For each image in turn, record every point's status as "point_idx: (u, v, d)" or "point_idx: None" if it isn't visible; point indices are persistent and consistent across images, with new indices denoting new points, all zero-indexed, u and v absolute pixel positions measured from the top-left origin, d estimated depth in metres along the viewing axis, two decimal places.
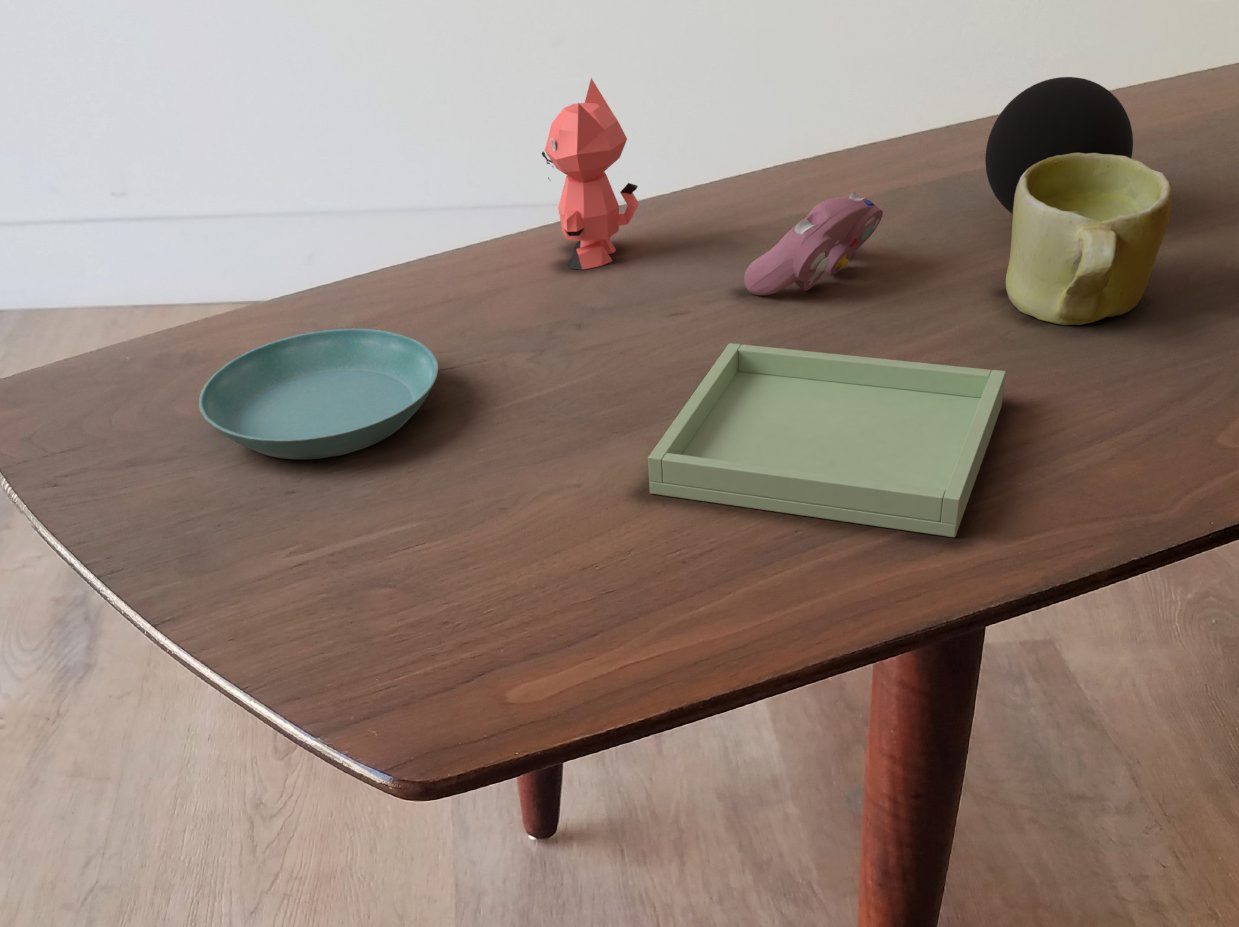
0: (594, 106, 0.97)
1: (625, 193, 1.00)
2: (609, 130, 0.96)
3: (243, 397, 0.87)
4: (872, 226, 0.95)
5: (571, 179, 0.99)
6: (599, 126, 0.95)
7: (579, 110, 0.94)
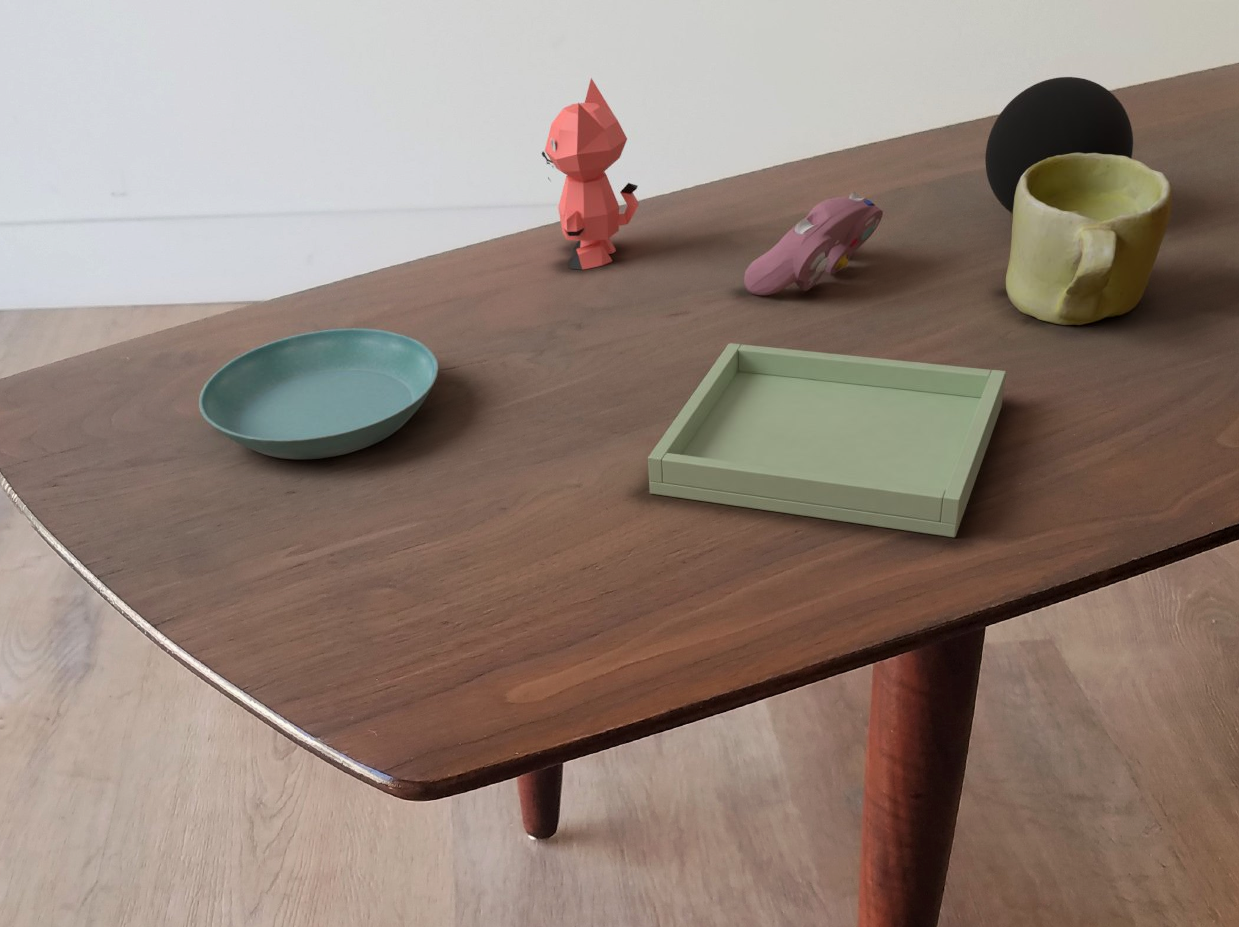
0: (594, 106, 0.97)
1: (625, 193, 1.00)
2: (609, 130, 0.96)
3: (243, 397, 0.87)
4: (872, 226, 0.95)
5: (571, 179, 0.99)
6: (599, 126, 0.95)
7: (579, 110, 0.94)
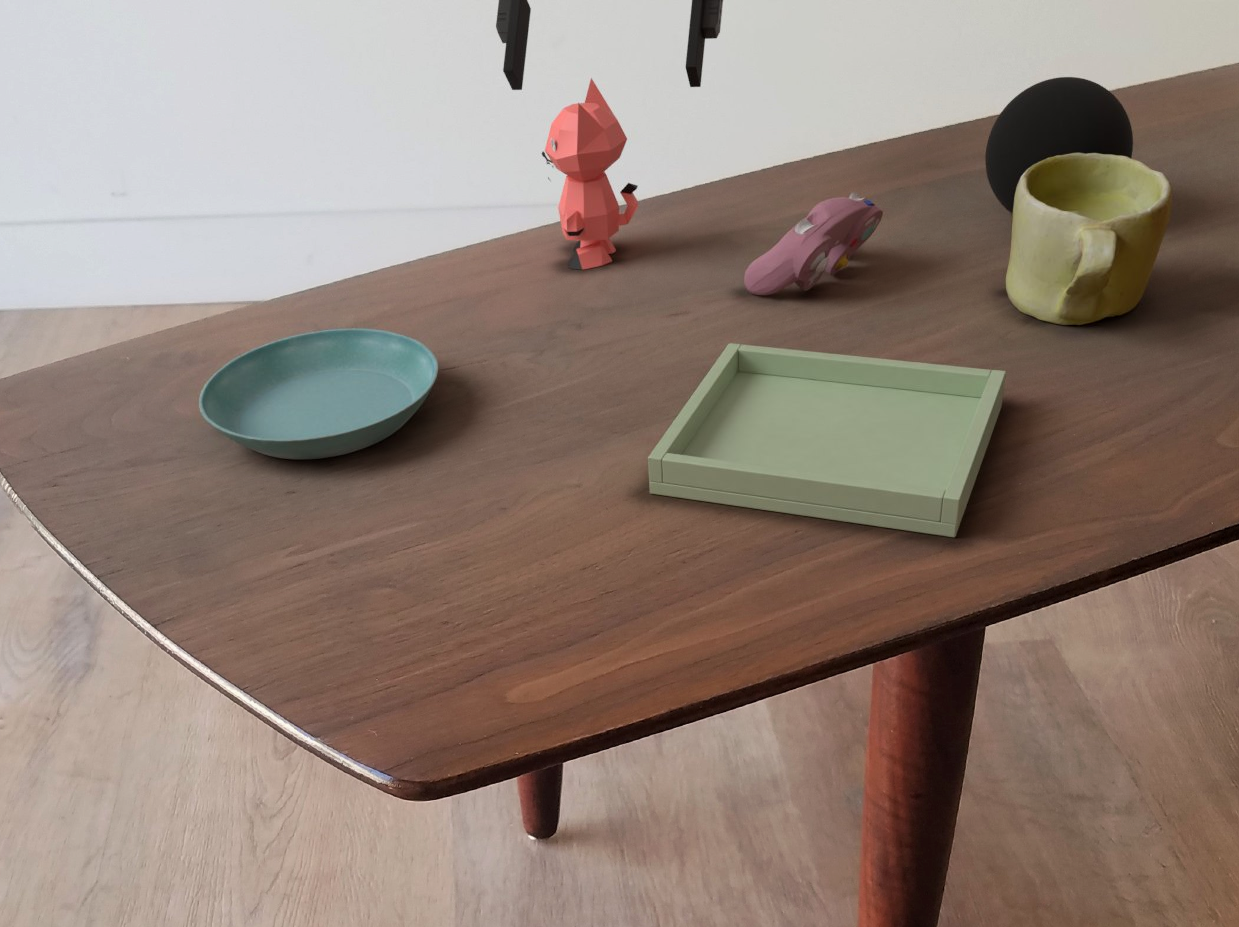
0: (594, 106, 0.97)
1: (625, 193, 1.00)
2: (609, 130, 0.96)
3: (243, 397, 0.87)
4: (872, 226, 0.95)
5: (571, 179, 0.99)
6: (599, 126, 0.95)
7: (579, 110, 0.94)
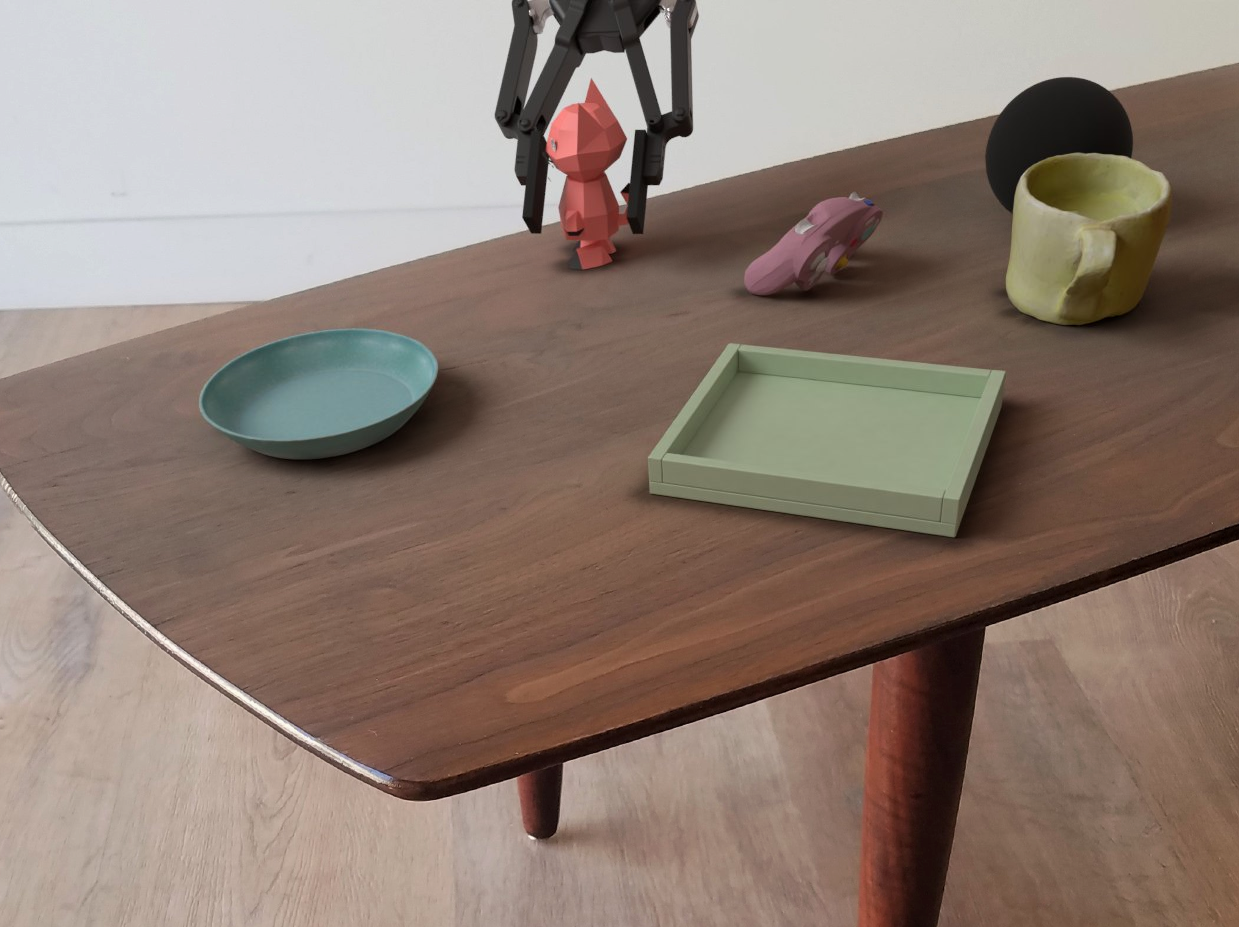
0: (594, 106, 0.97)
1: (625, 193, 1.00)
2: (609, 130, 0.96)
3: (243, 397, 0.87)
4: (872, 226, 0.95)
5: (571, 179, 0.99)
6: (599, 126, 0.95)
7: (579, 110, 0.94)
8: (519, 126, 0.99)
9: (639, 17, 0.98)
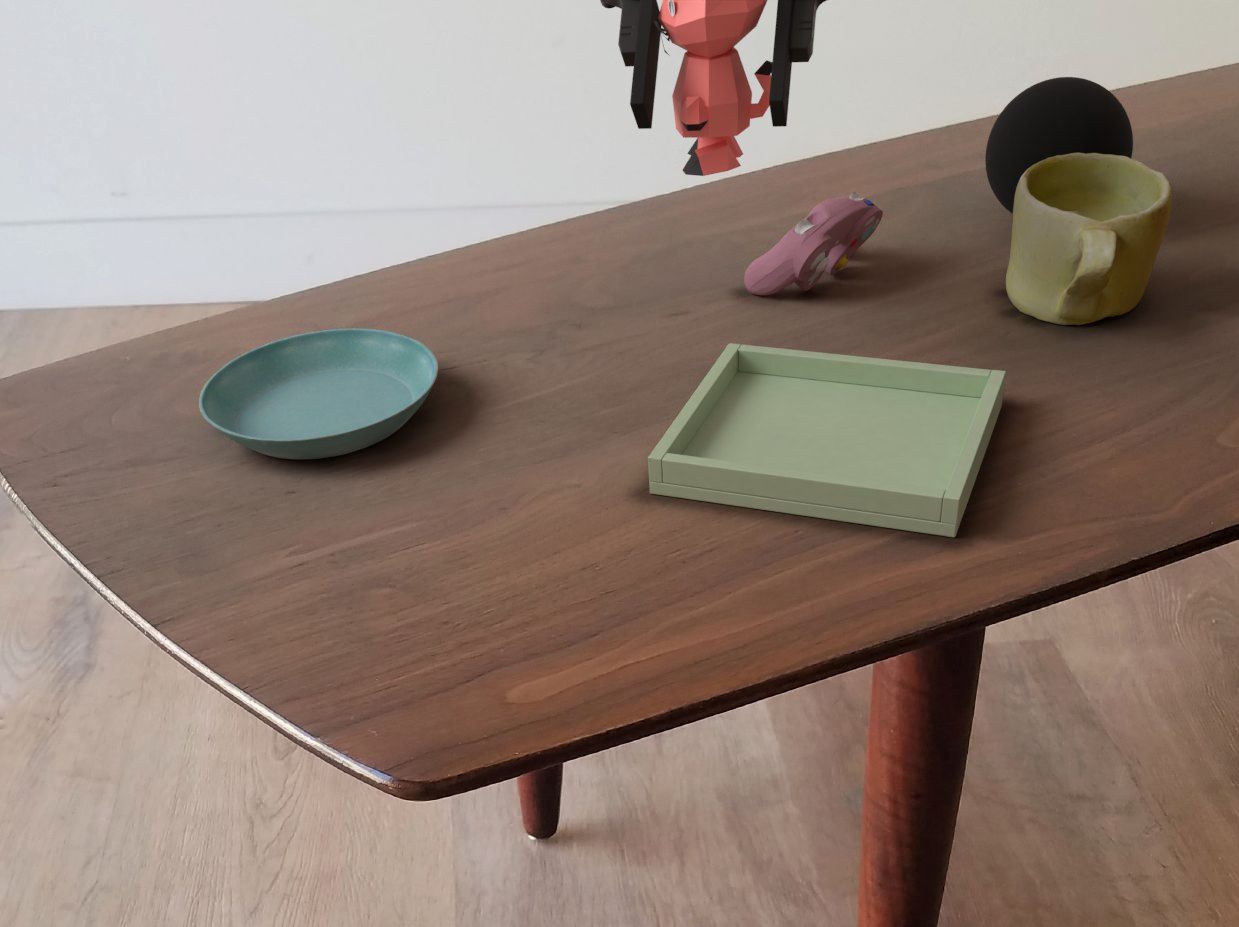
0: None
1: (761, 74, 0.77)
2: None
3: (243, 397, 0.87)
4: (872, 226, 0.95)
5: (692, 56, 0.77)
6: None
7: None
8: None
9: None
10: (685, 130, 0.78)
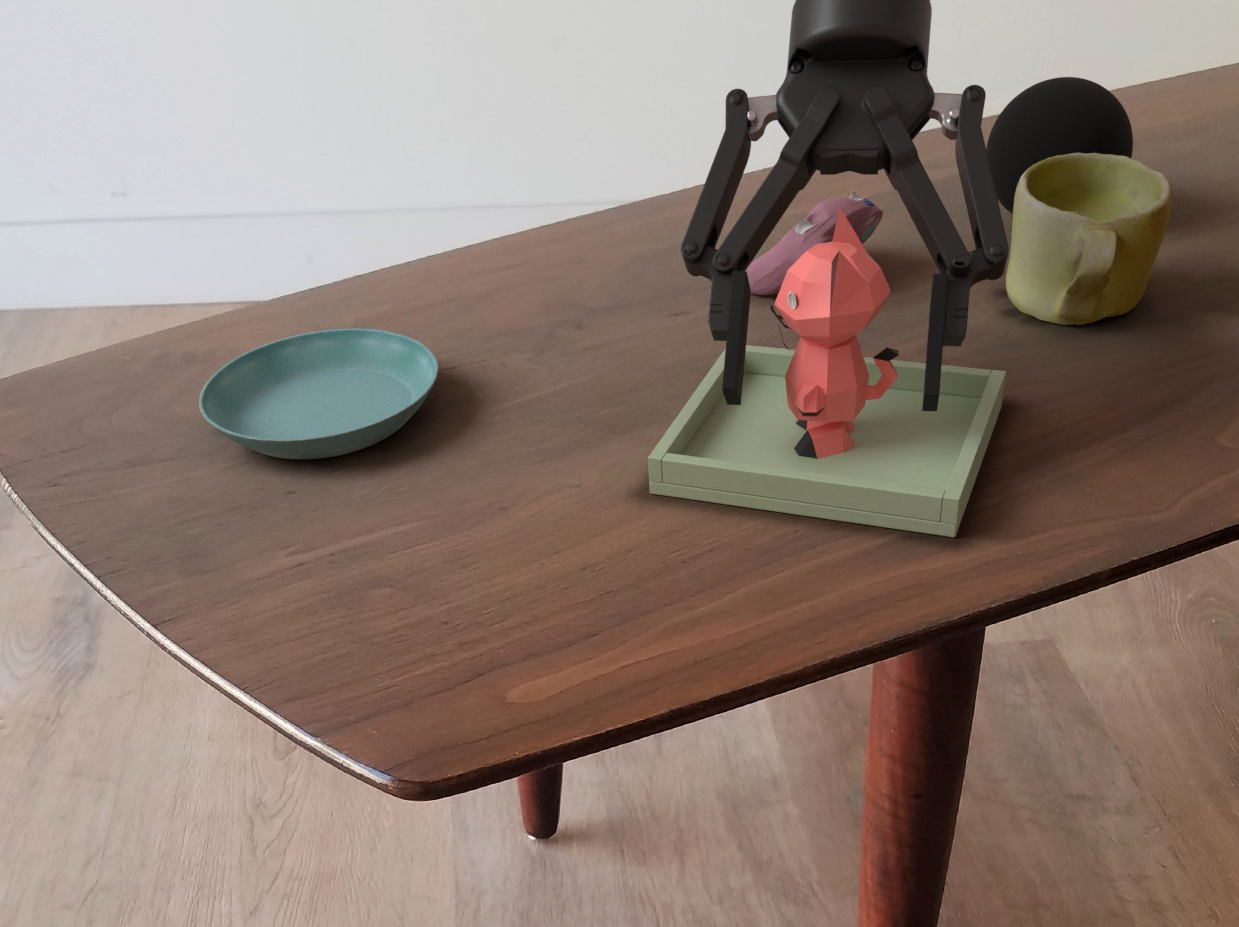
0: (850, 249, 0.71)
1: (880, 360, 0.74)
2: (872, 283, 0.70)
3: (243, 397, 0.87)
4: (872, 226, 0.95)
5: (809, 342, 0.74)
6: (862, 279, 0.69)
7: (839, 260, 0.68)
8: (714, 263, 0.74)
9: None
10: (799, 413, 0.75)
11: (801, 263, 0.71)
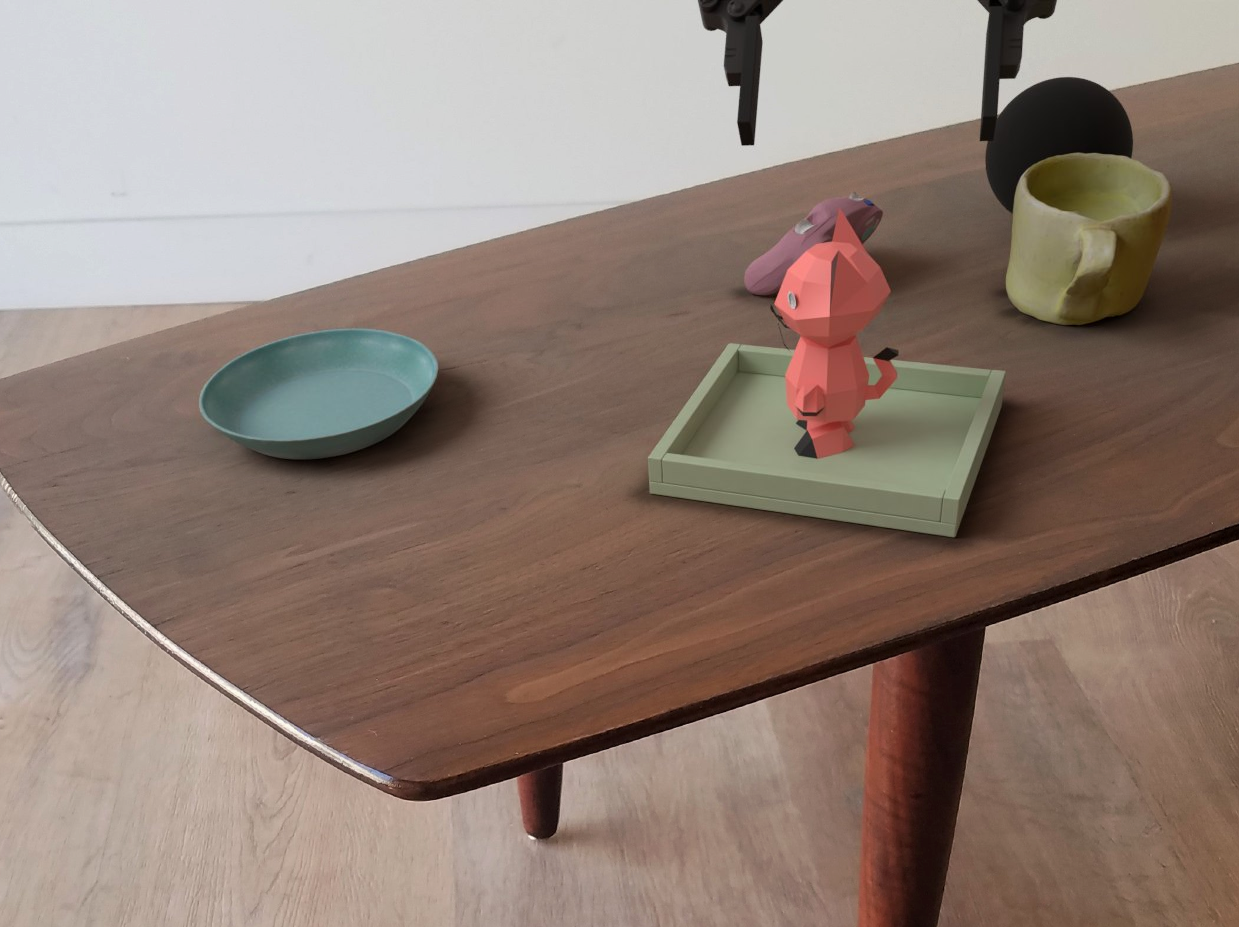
0: (849, 249, 0.71)
1: (880, 360, 0.74)
2: (872, 283, 0.70)
3: (243, 397, 0.87)
4: (872, 226, 0.95)
5: (809, 342, 0.74)
6: (861, 279, 0.69)
7: (838, 260, 0.68)
8: (729, 8, 0.80)
9: None
10: (799, 413, 0.75)
11: (801, 263, 0.71)
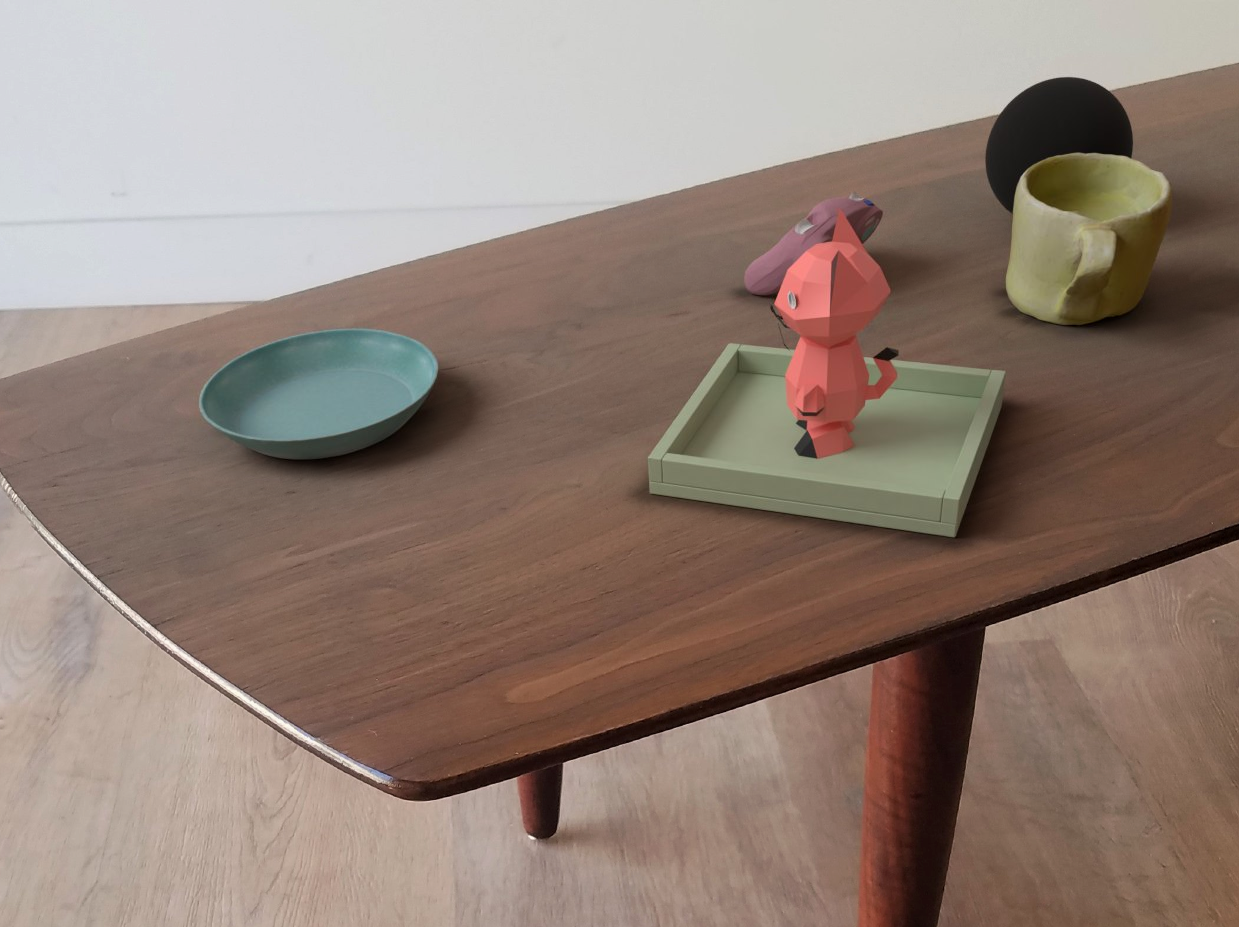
0: (850, 249, 0.71)
1: (880, 360, 0.74)
2: (872, 283, 0.70)
3: (243, 397, 0.87)
4: (872, 226, 0.95)
5: (809, 342, 0.74)
6: (861, 279, 0.69)
7: (838, 260, 0.68)
8: None
9: None
10: (799, 413, 0.75)
11: (801, 263, 0.71)
